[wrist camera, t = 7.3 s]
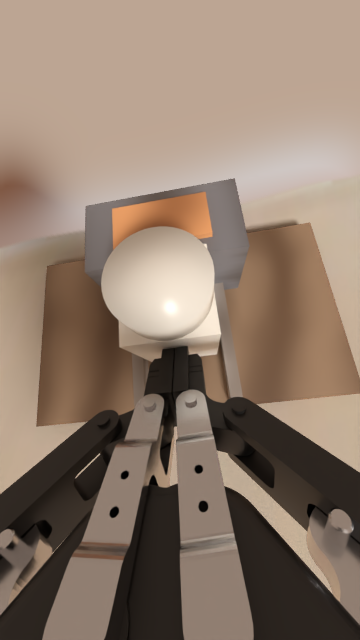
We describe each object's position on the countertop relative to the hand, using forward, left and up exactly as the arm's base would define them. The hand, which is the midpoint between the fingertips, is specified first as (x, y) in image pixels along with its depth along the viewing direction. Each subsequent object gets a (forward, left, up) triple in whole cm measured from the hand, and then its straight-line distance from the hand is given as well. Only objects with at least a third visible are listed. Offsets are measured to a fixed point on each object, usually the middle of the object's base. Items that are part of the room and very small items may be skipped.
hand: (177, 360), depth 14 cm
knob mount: (0, +4, -6) cm, 7 cm away
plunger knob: (0, +3, -4) cm, 5 cm away
